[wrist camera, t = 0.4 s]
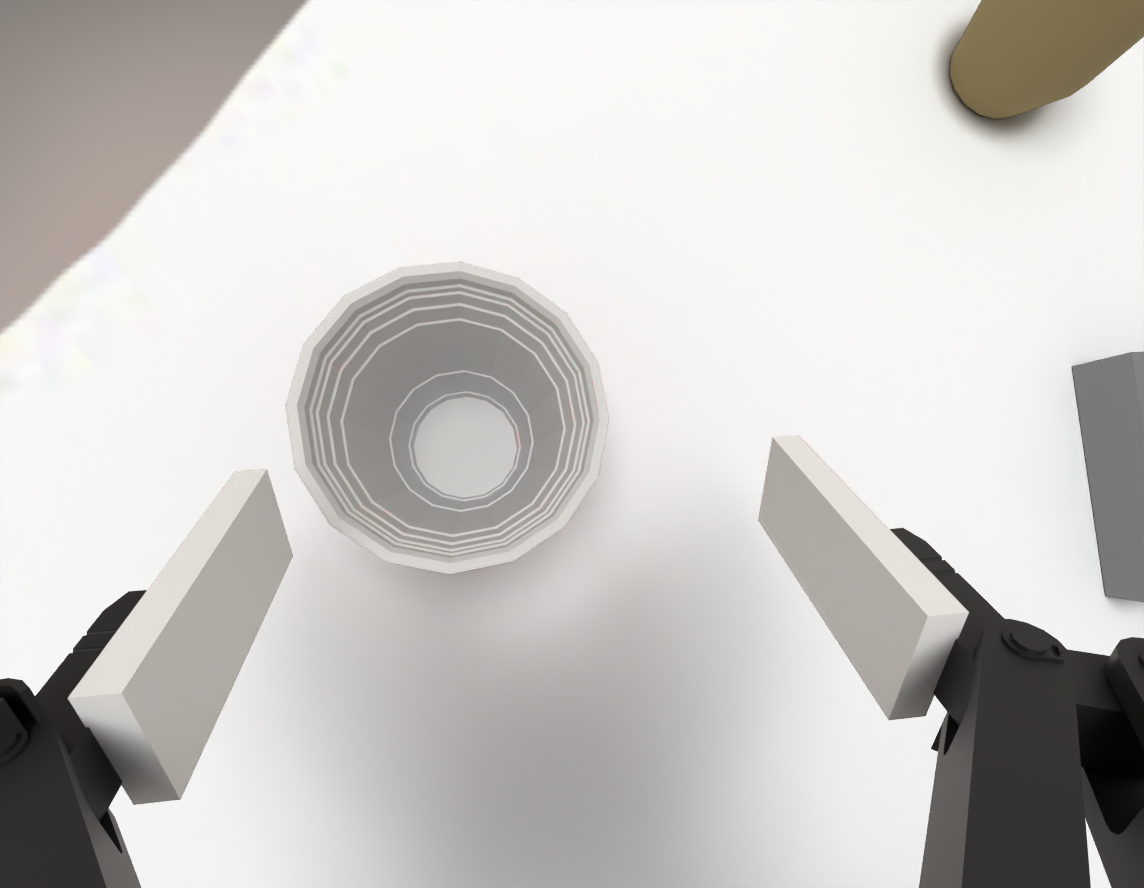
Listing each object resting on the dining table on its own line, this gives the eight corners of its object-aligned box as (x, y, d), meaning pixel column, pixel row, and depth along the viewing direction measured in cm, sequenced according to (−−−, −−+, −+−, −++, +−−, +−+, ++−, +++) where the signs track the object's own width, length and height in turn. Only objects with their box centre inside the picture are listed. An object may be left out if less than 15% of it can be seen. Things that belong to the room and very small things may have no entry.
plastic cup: (600, 502, 32) (660, 501, 21) (408, 580, 31) (353, 628, 19) (527, 319, 33) (545, 215, 21) (335, 386, 31) (236, 313, 19)
